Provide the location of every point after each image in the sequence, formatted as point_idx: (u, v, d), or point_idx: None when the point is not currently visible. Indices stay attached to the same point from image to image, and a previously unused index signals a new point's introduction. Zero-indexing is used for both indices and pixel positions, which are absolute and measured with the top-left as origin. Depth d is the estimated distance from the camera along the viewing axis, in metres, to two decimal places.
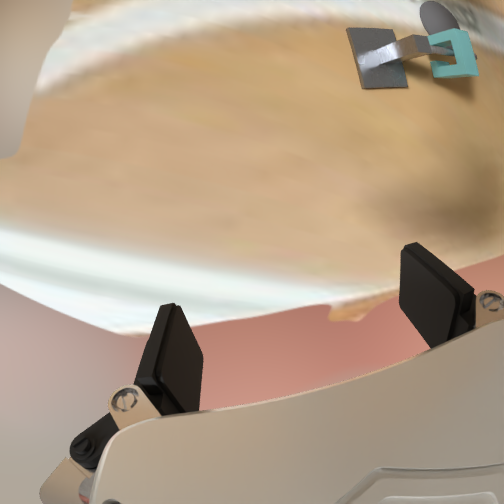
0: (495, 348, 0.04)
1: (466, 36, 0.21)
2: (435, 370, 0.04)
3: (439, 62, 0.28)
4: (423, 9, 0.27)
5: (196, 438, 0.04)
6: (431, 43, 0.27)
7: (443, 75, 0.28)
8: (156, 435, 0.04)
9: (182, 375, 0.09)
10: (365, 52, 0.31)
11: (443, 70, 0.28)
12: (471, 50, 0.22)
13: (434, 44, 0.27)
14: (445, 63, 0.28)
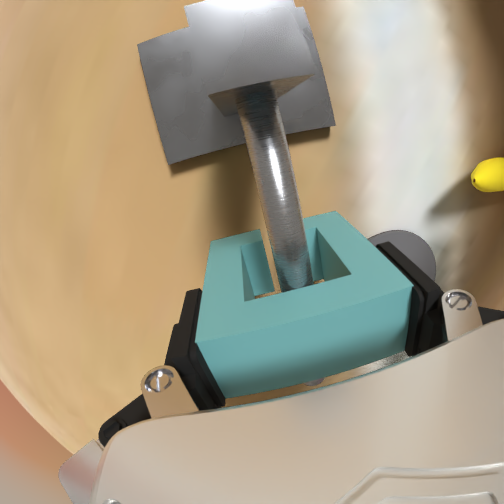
0: (495, 348, 0.04)
1: (386, 346, 0.09)
2: (435, 370, 0.04)
3: (260, 254, 0.14)
4: (413, 241, 0.19)
5: (196, 438, 0.04)
6: (320, 226, 0.14)
7: (210, 262, 0.13)
8: (155, 435, 0.04)
9: None
10: None
11: (225, 260, 0.13)
12: (329, 369, 0.09)
13: (319, 235, 0.14)
14: (265, 278, 0.15)
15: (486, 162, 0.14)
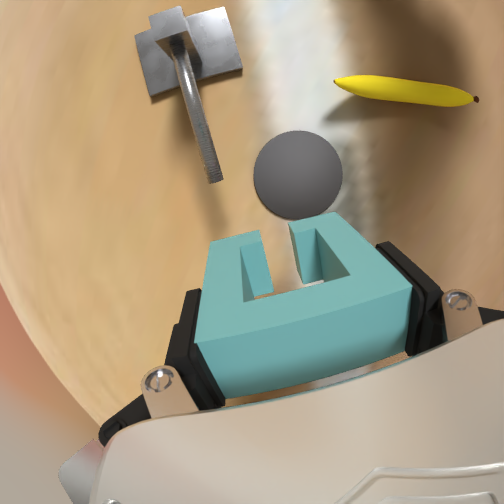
0: (495, 348, 0.04)
1: (385, 347, 0.09)
2: (435, 370, 0.04)
3: (259, 255, 0.14)
4: (312, 137, 0.29)
5: (196, 438, 0.04)
6: (319, 227, 0.14)
7: (209, 263, 0.13)
8: (155, 435, 0.04)
9: None
10: None
11: (225, 261, 0.13)
12: (328, 370, 0.09)
13: (318, 236, 0.14)
14: (264, 278, 0.15)
15: (356, 75, 0.23)
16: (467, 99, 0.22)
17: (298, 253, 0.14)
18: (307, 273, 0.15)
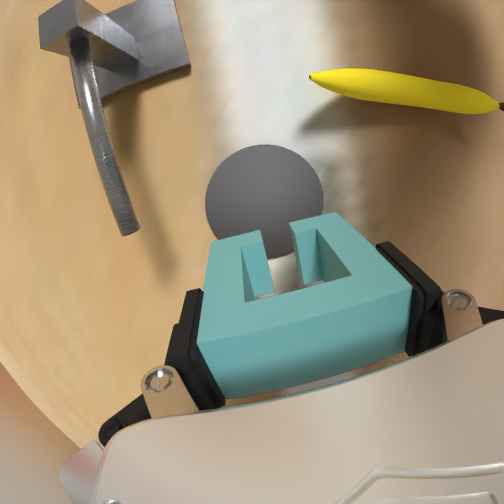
0: (495, 348, 0.04)
1: (386, 347, 0.09)
2: (435, 370, 0.04)
3: (260, 255, 0.14)
4: (283, 154, 0.22)
5: (196, 438, 0.04)
6: (320, 227, 0.14)
7: (210, 263, 0.13)
8: (155, 435, 0.04)
9: None
10: (124, 20, 0.15)
11: (226, 261, 0.13)
12: (329, 370, 0.09)
13: (319, 236, 0.14)
14: (265, 278, 0.15)
15: (344, 68, 0.17)
16: (491, 106, 0.15)
17: (299, 253, 0.14)
18: (308, 273, 0.15)
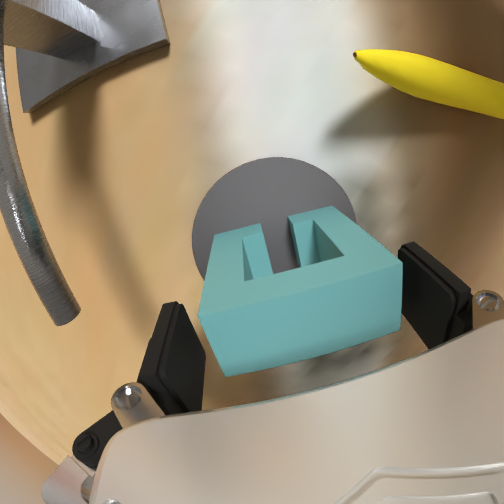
0: (495, 348, 0.04)
1: (380, 324, 0.10)
2: (435, 370, 0.04)
3: (260, 245, 0.15)
4: (304, 171, 0.15)
5: (196, 438, 0.04)
6: (317, 218, 0.15)
7: (213, 251, 0.14)
8: (156, 435, 0.04)
9: (185, 373, 0.09)
10: None
11: (227, 249, 0.14)
12: (325, 346, 0.10)
13: (316, 226, 0.14)
14: (265, 268, 0.16)
15: (396, 50, 0.10)
16: None
17: (297, 244, 0.15)
18: (306, 263, 0.16)
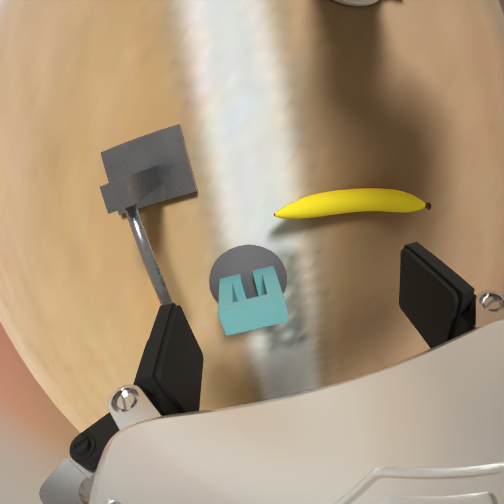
0: (495, 348, 0.04)
1: (280, 318, 0.30)
2: (435, 370, 0.04)
3: (240, 285, 0.35)
4: (259, 251, 0.35)
5: (196, 438, 0.04)
6: (264, 274, 0.35)
7: (220, 288, 0.34)
8: (155, 435, 0.04)
9: (182, 375, 0.09)
10: (146, 149, 0.29)
11: (226, 288, 0.34)
12: (260, 325, 0.30)
13: (263, 277, 0.35)
14: (242, 294, 0.36)
15: (300, 199, 0.30)
16: (418, 207, 0.29)
17: (256, 284, 0.35)
18: (260, 292, 0.36)
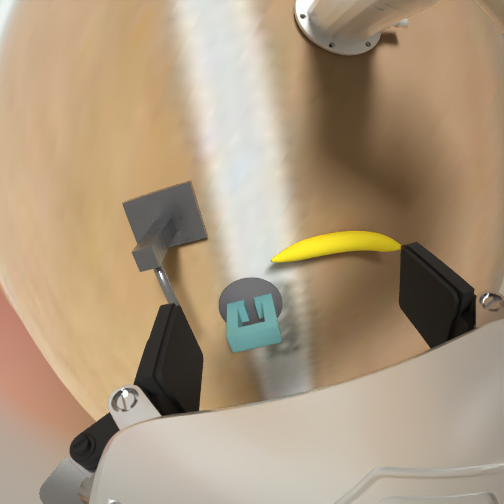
0: (495, 348, 0.04)
1: (275, 340, 0.37)
2: (435, 370, 0.04)
3: (243, 309, 0.43)
4: (260, 282, 0.43)
5: (196, 438, 0.04)
6: (263, 301, 0.42)
7: (227, 313, 0.42)
8: (155, 435, 0.04)
9: (182, 375, 0.09)
10: (162, 202, 0.36)
11: (232, 313, 0.41)
12: (259, 345, 0.38)
13: (262, 304, 0.42)
14: (245, 316, 0.43)
15: (292, 245, 0.38)
16: (394, 248, 0.36)
17: None
18: (260, 315, 0.43)
